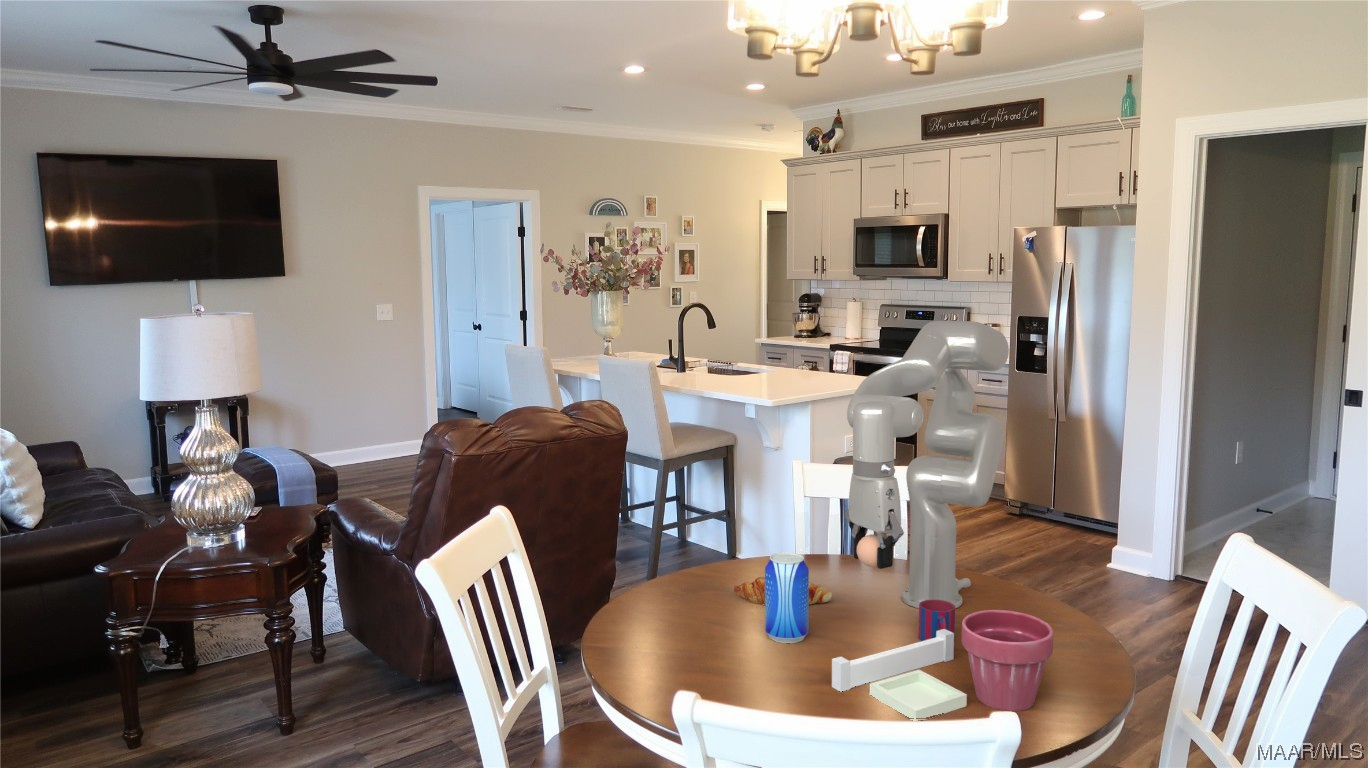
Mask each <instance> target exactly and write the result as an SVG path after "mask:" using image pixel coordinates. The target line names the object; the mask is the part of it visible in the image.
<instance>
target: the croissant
mask: <svg viewBox="0 0 1368 768" xmlns="http://www.w3.org/2000/svg"><path fill="white" fill-rule="evenodd" d="M733 587H734V590H733V591H734V592H735V595H737V596H740V597H741V598H744V599H746V600H747V601H749V603H754V604H755V603H756V604H755V605H763V604H764V605H763V606H765V576H763V577H762V576H760V577H757V578H755V580H754V581H752V582H749V581H746V582H744V583H741V584H740V585H738V584H737V585H734V586H733ZM832 598H833V593H832V592H831V591H828V590H827V589H826V588H825V587H823V586H822V585H821V584H818V585H815V584H814V583H813V582H810V581H809V605H814V604H816V603H818V604H824V603H827V602H830V601H831V600H832Z"/></svg>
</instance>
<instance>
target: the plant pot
mask: <svg viewBox="0 0 1368 768" xmlns="http://www.w3.org/2000/svg"><path fill="white" fill-rule="evenodd" d="M961 643H962V646H963V648H964V649H965V650H966V651H967V655H968V661H969V667H970V671H971V675H972V680H973V685H974V690H975V695H976V698H977V700H978V701H979V702H981V703H982V704H984V705H985V706H987V707H989V708H992V709H995V710H999V711H1006V712H1020V711H1026V710H1028V709H1030V708H1032V706H1034V704H1035V701H1036V697H1037V694H1038V691H1039V687H1040V684H1041V680H1042V677H1043V674H1044V669H1045V666H1046V662H1047V660H1049V658H1051V656H1053V655H1052V654H1053V651H1054V630H1053V628H1052V626H1051V625H1050V624H1049V623H1048V622H1046V621H1044V620H1042V619H1041V618H1039V617H1037V616H1033V615H1031V614H1028V613H1023V612H1018V611H1014V610H1005V609H988V610H987V609H986V610H980V611H975V612H971V613H969V614H968V615H966V616H965V617H964V618H963V619H962V622H961Z"/></svg>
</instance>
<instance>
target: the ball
mask: <svg viewBox="0 0 1368 768" xmlns="http://www.w3.org/2000/svg"><path fill="white" fill-rule="evenodd" d="M878 547H880V545H879V541H878V536H877V534H866V535H865V537H863V538H862V539H861V540H860V541H859V543H858V545H857V556H858V558H859V559H858V560H859V561H860V562H861V563H862V564H863V565H864V566H867V567H869V568H878V567H877V548H878Z"/></svg>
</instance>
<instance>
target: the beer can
mask: <svg viewBox="0 0 1368 768" xmlns="http://www.w3.org/2000/svg"><path fill="white" fill-rule="evenodd" d="M764 568H765V569H764V578H765V605H764V630H765V633H766V634H767V635H768V637H769V640H771V639H772V640H771V641H773V640H774V641H773V642H775V641H776V643H779V642H780V643H779V644H786V643H790V644H797V643H800V642H802V641H804V640H805V638H806V636H807V635H808V633H809V613H810V611H809V610H810V609H809V608H810V607H809V582H810V581H809V580H810V579H809V578H810V577H809V576H810V571H809V570H810V569H809V567H808V565H807V563H806V562H805V557H804V555H803V554H800V553H796V552H791V551H790V552H788V551H784V552H783V551H782V552H776V553H772V554H771V555H770V556H769V560H768V562H767V564H766V565H765V567H764Z"/></svg>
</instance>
